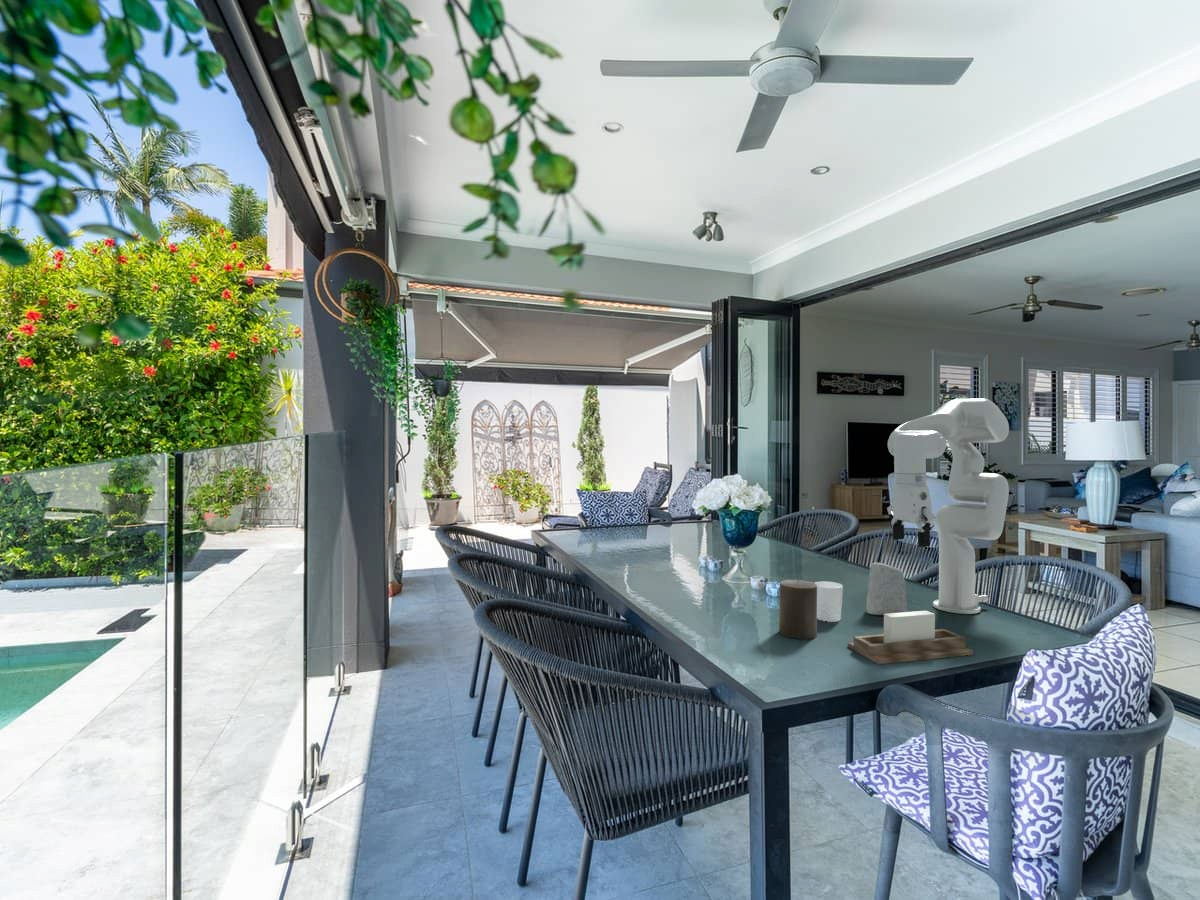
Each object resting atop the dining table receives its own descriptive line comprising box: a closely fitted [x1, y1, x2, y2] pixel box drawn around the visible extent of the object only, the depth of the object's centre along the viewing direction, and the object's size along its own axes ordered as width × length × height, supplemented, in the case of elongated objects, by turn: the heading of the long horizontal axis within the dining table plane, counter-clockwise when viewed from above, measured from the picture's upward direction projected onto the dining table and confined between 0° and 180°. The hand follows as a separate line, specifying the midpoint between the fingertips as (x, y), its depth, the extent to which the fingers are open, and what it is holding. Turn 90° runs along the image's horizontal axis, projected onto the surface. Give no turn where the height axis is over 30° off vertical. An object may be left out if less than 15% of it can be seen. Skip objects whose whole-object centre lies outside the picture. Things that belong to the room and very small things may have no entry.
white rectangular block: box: [883, 610, 936, 643], centre depth 154 cm, size 12×3×8 cm, turn 101°
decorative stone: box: [866, 562, 908, 616], centre depth 184 cm, size 11×6×15 cm, turn 71°
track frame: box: [847, 628, 974, 665], centre depth 154 cm, size 26×12×3 cm, turn 101°
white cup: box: [814, 580, 844, 623], centre depth 180 cm, size 8×8×10 cm
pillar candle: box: [778, 578, 818, 640], centre depth 168 cm, size 10×10×15 cm
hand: (910, 542), depth 166 cm, fingers open, 9 cm apart
